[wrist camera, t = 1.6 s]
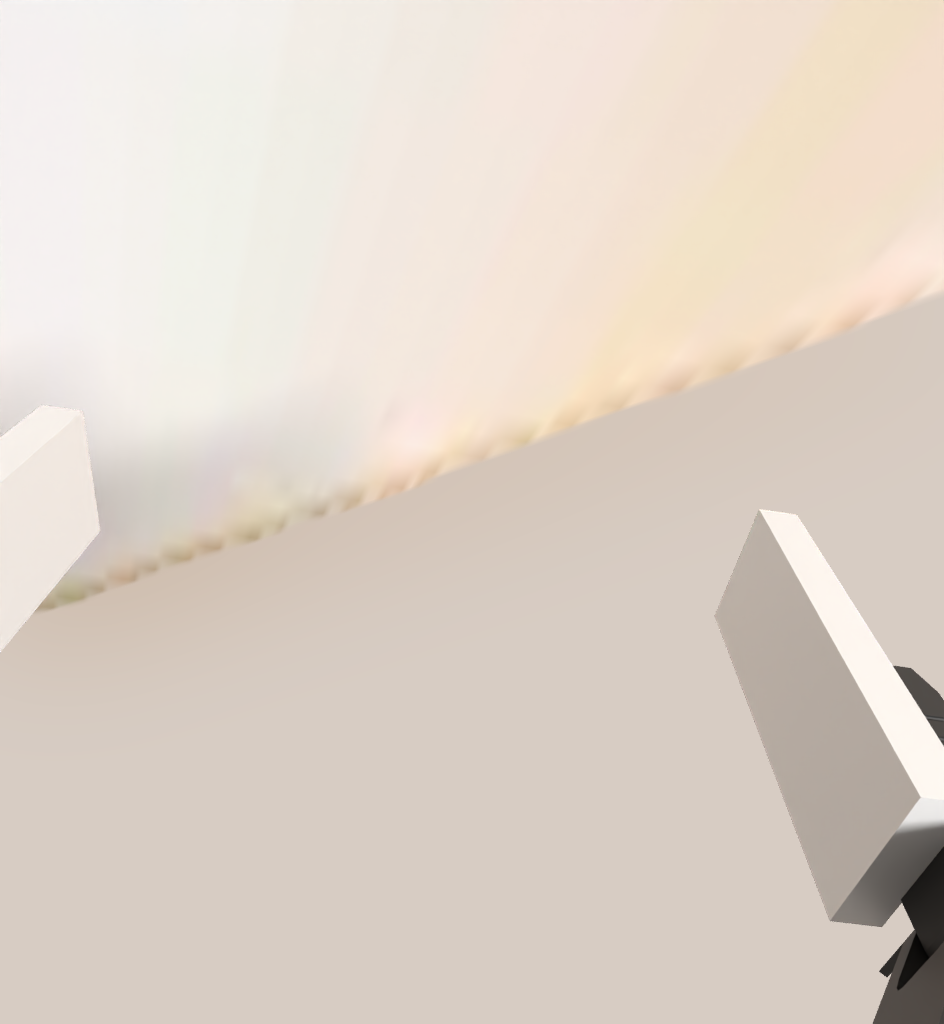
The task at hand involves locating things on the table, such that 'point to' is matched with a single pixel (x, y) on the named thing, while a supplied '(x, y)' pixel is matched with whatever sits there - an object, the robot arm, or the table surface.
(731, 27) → the table surface
